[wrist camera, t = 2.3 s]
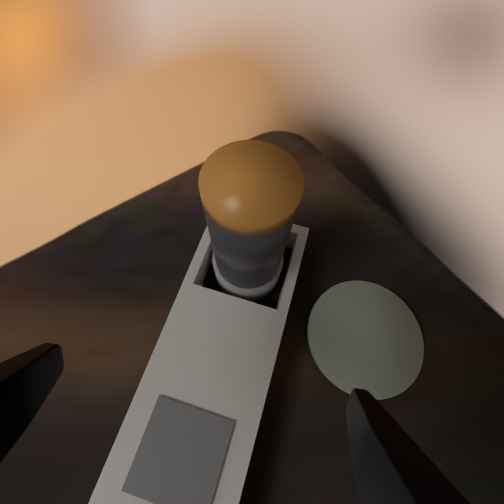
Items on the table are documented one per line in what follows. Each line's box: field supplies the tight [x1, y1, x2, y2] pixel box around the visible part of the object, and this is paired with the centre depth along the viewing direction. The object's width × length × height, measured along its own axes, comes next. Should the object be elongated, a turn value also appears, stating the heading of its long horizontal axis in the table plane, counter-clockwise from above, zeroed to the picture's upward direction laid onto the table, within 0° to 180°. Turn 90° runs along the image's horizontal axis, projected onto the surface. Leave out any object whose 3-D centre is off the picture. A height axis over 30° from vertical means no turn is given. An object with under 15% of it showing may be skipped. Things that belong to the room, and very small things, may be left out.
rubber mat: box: [307, 281, 424, 400], centre depth 23 cm, size 9×9×1 cm
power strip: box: [88, 224, 309, 504], centre depth 21 cm, size 8×22×3 cm, turn 163°
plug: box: [198, 140, 304, 302], centre depth 19 cm, size 6×6×12 cm
